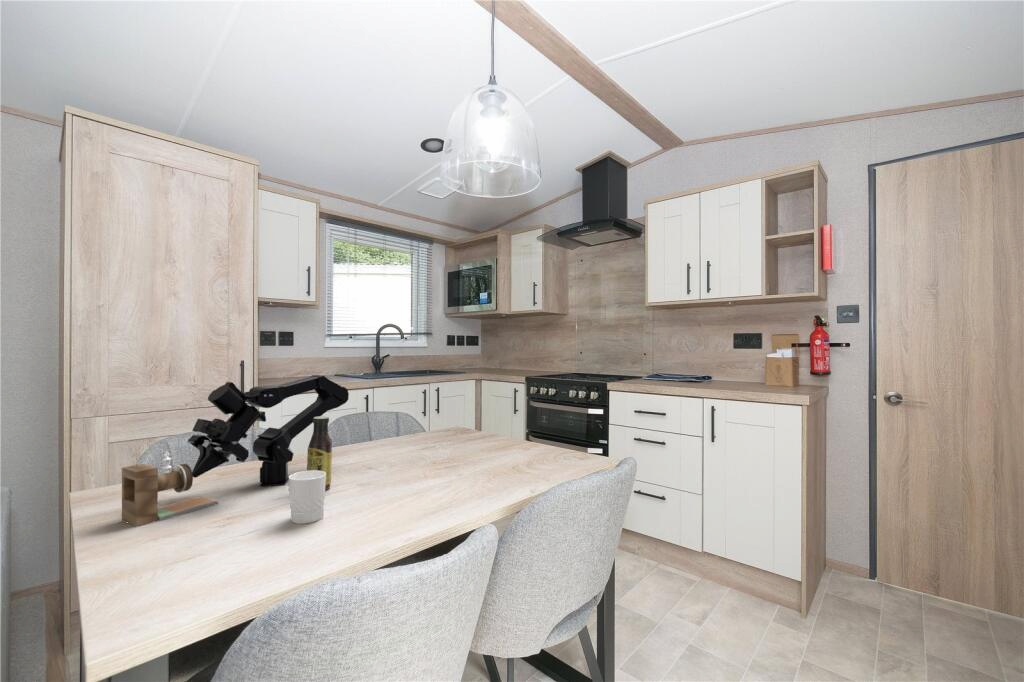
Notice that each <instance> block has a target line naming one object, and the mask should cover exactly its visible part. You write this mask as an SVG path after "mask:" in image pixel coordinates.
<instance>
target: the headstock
mask: <svg viewBox="0 0 1024 682" xmlns="http://www.w3.org/2000/svg"><path fill="white" fill-rule="evenodd" d="M158 469H159V467H156V466H153V465H149V464H145V463H139V464H134V465H129V466H124V467H121V521H122V520H123V521H122V522H124V521H125V522H124V523H126V522H128V523H127V524H129V523H130V524H129V525H131V524H132V526H134V525H135V526H134V527H136V526H138V527H141V526H144V525H147V523H148V524H151V523H154V522H153V521H155V522H158V521H159V520H158V507H159V506H158V505H159V503H158V501H159V500H158V499H159V497H158V496H159V494H158V493H159V492H158V475H159V473H158V472H159V470H158ZM157 520H158V521H157ZM150 522H151V523H150ZM143 524H144V525H143ZM140 525H141V526H140Z"/></svg>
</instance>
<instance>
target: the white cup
mask: <svg viewBox="0 0 1024 682" xmlns="http://www.w3.org/2000/svg"><path fill="white" fill-rule="evenodd" d="M288 477H289V480H288V493H289V495H288V496H289V508H290V521H291V522H292V523H293V524H297V525H300V524H304V525H305V524H310V523H314V522H315V523H316V522H317V521H320V520H322V519H323V517H324V511H325V510H324V509H325V508H324V507H325V499H326V490H325V484H326V472H324V471H318V470H310V471H307V470H303V471H297V472H295V473H291V474H290V475H288Z"/></svg>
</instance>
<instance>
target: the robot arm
mask: <svg viewBox="0 0 1024 682" xmlns="http://www.w3.org/2000/svg"><path fill="white" fill-rule="evenodd" d="M310 391H314V392H315V393H316V394H317V397H316V400H315V401H314V402H313V403H311V404H310V405H309V406H307V407H306V408H304V410H302V411H301V412H299V413H298V414H297V415H296V416H294V417H293V418H291V419H290V420H289V421H287V422H286V423H285V424H284V425H282V426H281V427H279V428H276V427H268V428H266V429H265V430H264V431H263V432H262V433H259V434H258V435H257V436H256V437H257V438H256V439H255V440H254V441H253V446H252V451H253V454H255V456H256V457H257V459H258V461H259V462H261V467H260V468H259V483H260V484H259V485H260V487H266V486H269V485H270V486H280V485H286V484H287V483H288V482H289V462H292V460H293V457H294V453H293V452H292V451H291V450H290V445H291V444H292V441H293V440H294V438H296V437H297V436H298V435H300V433H302V432H303V431H305V430H306V429H307V428H308V427H310V426H311V425H312V424H314V423H313V418H314V417H319V416H323V415H325V414H326V413H327V412H329V411H331V410H334V409H335V410H336V409H338V408H339V407H341V406H343V405H345V404H346V403H347V402H348V401H349V396H350V395H349V390H348V389H347V387H345V386H341V385H340V384H339V383H336V382H334V381H332V380H330V379H329V378H327V377H326V376H325V375H321V374H313V375H310V376H307V377H304V378H299V379H297V380H293V381H289V382H285V383H282V384H276V385H260V386H253V387H251V388H250V389H249V391H245V392H242V391H241V390H240V389H239V388H238V387H237V386H236V384H234V382H232V381H226V382H225V384H222V385H220V386H219V387H217V388H216V389H214V390H213V391H211V393H209V394H208V397H207V401H209V402H210V403H211V404H212V405H213V406H214V407H215V408H216V409H218V410H219V411H220V412H221V413H222V414H224V415H229V414H231V415H230V417H228V419H227V420H226V421H225V420H224V419H221V418H213V420H208V419H202V418H197V419H196V421H195V423H194V426H193V428H192V429H191V430H192V431H193V432H194V433H195V432H196V433H198V432H199V433H201V434H192V436H190V437H189V439H188V440H187V442H188V443H189V444H190V445H192V446H193V447H194V448H195V449H197V450H198V451H199V456H198V459H197V460H196V463H195V465H194V467H193V469H192V470H191V471H192V475H193V479H194V478H198V477H200V476H202V475H203V474H205V473H207V472H209V471H211V470H213V469H215V468H217V467H219V466H220V465H223V464H225V463H229V462H230V459H229V458H230V456H231V455H233V456H235V459H236V461H237V462H240V463H245V461H246V460H247V459H248V458H249V456H250V455H249V453H250V452H249V449H247V448H245V446H244V445H242V444H241V443H239V442H240V441H241V440H242V439H246V438H247V437H248V434H247V432H248V431H249V430H251V428H252V426H253V425H254V424H255V423H256V422H263V423H264V422H267V418H266V411H263V410H262V411H260V410H259V409H258V408H262V409H270V408H273V407H275V406H277V405H278V404H281V403H282V402H283V401H284V400H285V399H287V398H290V397H294V396H297V395H301V394H304V393H308V392H310ZM203 434H204V435H203ZM205 434H206V435H205Z"/></svg>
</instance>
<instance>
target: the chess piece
mask: <svg viewBox="0 0 1024 682" xmlns="http://www.w3.org/2000/svg"><path fill="white" fill-rule="evenodd" d="M169 456H171V453H170V452H169V451H165V453H164V454H163V457H164V458H162V460H161V461H162V463H163V466H162V468H161V469H162V470H164V473H163V474H165V473H170V469H172V466H171V465H170V464H171V461H172V457H169Z"/></svg>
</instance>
